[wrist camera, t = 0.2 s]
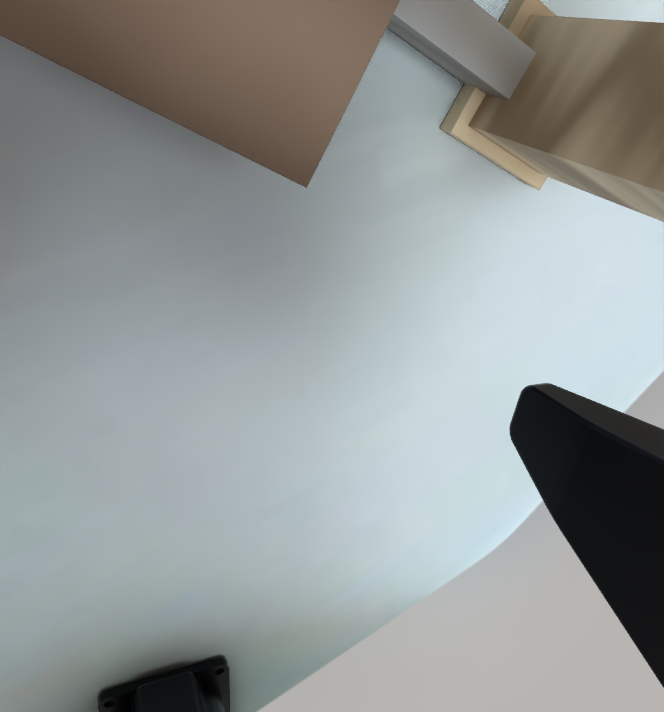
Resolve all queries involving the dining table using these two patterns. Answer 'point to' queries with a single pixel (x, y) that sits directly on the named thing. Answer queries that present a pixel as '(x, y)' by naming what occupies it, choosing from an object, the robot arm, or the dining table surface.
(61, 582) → the dining table surface
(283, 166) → the plinth
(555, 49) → the blade tool
